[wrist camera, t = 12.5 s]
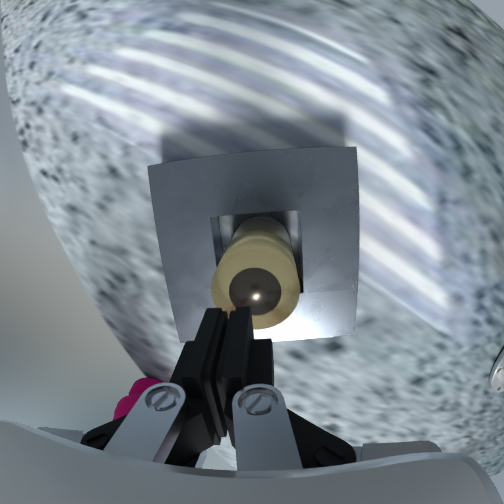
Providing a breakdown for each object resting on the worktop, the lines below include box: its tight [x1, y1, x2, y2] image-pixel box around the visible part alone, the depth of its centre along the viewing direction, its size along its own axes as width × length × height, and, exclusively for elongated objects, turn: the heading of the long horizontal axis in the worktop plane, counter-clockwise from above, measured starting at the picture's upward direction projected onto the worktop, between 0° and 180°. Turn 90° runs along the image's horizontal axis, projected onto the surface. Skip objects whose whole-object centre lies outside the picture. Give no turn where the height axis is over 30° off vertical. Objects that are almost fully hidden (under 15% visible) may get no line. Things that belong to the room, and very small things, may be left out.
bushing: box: [211, 216, 300, 330], centre depth 20 cm, size 5×5×9 cm
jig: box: [148, 147, 359, 343], centre depth 23 cm, size 15×15×3 cm
